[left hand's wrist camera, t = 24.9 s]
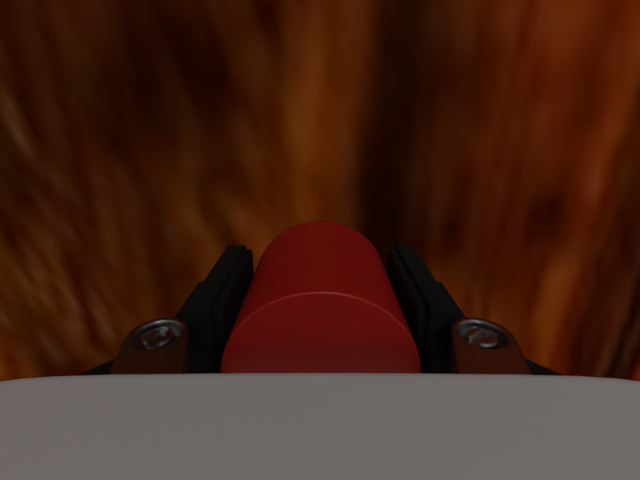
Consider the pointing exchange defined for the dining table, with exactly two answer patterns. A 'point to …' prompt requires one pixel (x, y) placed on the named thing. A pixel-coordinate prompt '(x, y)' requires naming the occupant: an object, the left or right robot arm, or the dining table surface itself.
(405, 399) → the left robot arm
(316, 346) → the can
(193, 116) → the dining table surface
